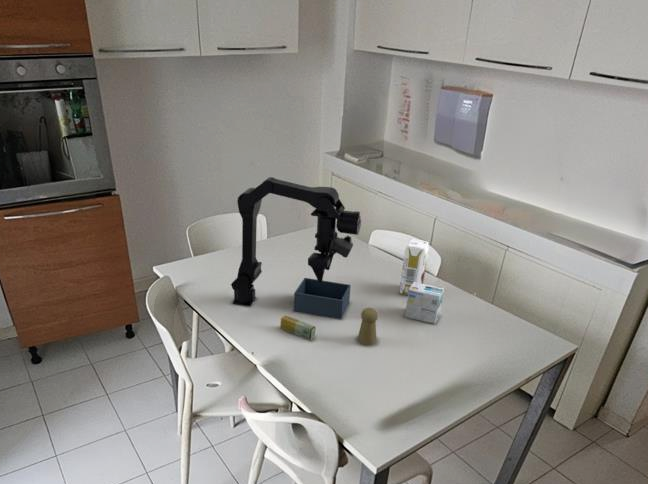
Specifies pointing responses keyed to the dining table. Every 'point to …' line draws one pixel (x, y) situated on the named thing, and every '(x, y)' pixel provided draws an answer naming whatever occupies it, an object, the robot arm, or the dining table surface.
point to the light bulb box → (424, 302)
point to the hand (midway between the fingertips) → (323, 275)
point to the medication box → (298, 327)
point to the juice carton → (413, 264)
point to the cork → (368, 327)
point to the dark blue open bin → (322, 298)
